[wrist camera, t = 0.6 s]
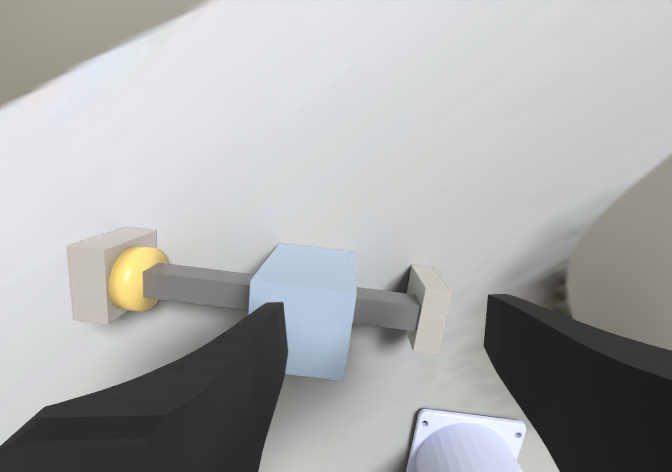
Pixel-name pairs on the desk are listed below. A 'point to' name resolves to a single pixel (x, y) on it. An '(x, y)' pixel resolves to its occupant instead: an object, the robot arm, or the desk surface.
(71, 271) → the grey bar rail
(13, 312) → the desk surface
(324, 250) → the light blue sliding block
